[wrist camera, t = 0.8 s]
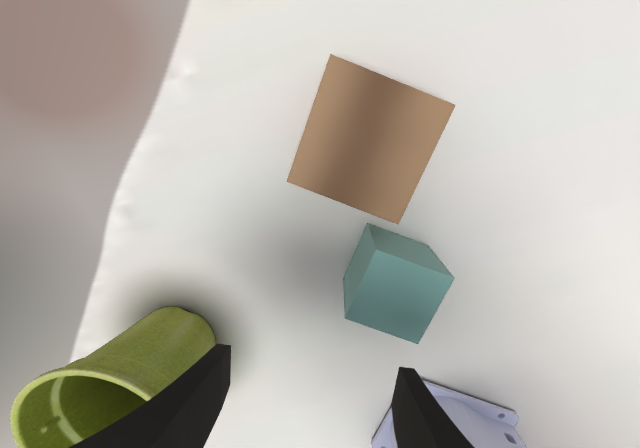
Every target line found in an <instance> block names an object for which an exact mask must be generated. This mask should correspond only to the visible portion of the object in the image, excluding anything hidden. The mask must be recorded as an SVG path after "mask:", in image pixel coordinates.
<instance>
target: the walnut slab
mask: <svg viewBox="0 0 640 448" xmlns="http://www.w3.org/2000/svg"><path fill="white" fill-rule="evenodd" d="M454 107H455V105H454V104H452V103H449V102H447V101H444V100H442V99H439V98H437V97H434V96H432V95H430V94H427V93H425V92H422V91H420V90H417V89H415V88H412V87H410V86H407V85H405V84H403V83H400V82H398V81H395V80H393V79H390V78H388V77H385V76H383V75H381V74H378V73H376V72H373V71H371V70H368V69H366V68H363V67H361V66H359V65H356V64H354V63H351V62H349V61H346V60H344V59H341V58H339V57H336V56H334V55H332V54H330V57H329V60H328V63H327V66H326V69H325V72H324V75H323V78H322V81H321V83H320V86H319V89H318V92H317V95H316V98H315V101H314V104H313V107H312V110H311V112H310V115H309V118H308V121H307V124H306V127H305V130H304V133H303V136H302V139H301V141H300V144H299V147H298V150H297V153H296V156H295V159H294V162H293V165H292V168H291V170H290V173H289V176H288V179H287V182H289V183H292V184H295V185H297V186H300V187H302V188H305V189H307V190H310V191H313V192H315V193H318V194H320V195H323V196H326V197H328V198H331V199H333V200H336V201H339V202H341V203H344V204H346V205H349V206H351V207H354V208H357V209H359V210H362V211H364V212H367V213H370V214H372V215H375V216H377V217H380V218H383V219H385V220H388V221H390V222H393V223H396V224H399V222H400V220H401V218H402V216H403V213H404V211H405V209H406V207H407V205H408V203H409V201H410V199H411V197H412V195H413V193H414V191H415V188H416V186H417V184H418V182H419V180H420V178H421V176H422V174H423V172H424V170H425V168H426V166H427V164H428V161H429V159H430V157H431V155H432V153H433V151H434V149H435V147H436V145H437V143H438V141H439V139H440V136H441V134H442V132H443V130H444V128H445V126H446V124H447V122H448V120H449V118H450V116H451V114H452V112H453V109H454Z"/></svg>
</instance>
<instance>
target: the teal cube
mask: <svg viewBox="0 0 640 448" xmlns="http://www.w3.org/2000/svg"><path fill="white" fill-rule="evenodd" d="M343 280H344V308H345V319H348V320H351V321H354V322H357V323H360V324H362V325H365V326H368V327H371V328H374V329H377V330H379V331H382V332H385V333H388V334H391V335H394V336H396V337H399V338H402V339H405V340H408V341H411V342H413V343H416V344H418V343H419V341H420V339H421V338H422V336H423V334H424V332H425V330H426V329H427V327H428V325H429V323H430V321H431V320H432V318H433V316H434V314H435V312H436V311H437V309H438V307H439V305H440V303H441V302H442V300H443V298H444V296H445V294H446V293H447V291H448V289H449V287H450V286H451V284H452V282H453V280H454V277H453V276H452V274H451V273H450V272H449V271H448V269H447V268H446V267H445V266H444V265H443V263H442V262H441V261H440V260H439V258H438V257H437V256H436V255H435V254H434V252H433V251H432V250H431V249H430V247H429V246H428V245H425V244H423V243H420V242H417V241H414V240H412V239H409V238H406V237H404V236H401V235H398V234H395V233H393V232H390V231H387V230H385V229H382V228H379V227H376V226H374V225H371V224H368V223H367V225H366V227H365V230H364V232H363V234H362V237H361V239H360V241H359V244H358V246H357V248H356V251H355V253H354V255H353V258H352V260H351V262H350V265H349V267H348V269H347V272H346V274H345V276H344V278H343Z"/></svg>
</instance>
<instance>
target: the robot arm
mask: <svg viewBox="0 0 640 448" xmlns="http://www.w3.org/2000/svg"><path fill="white" fill-rule="evenodd" d="M230 367H231V346H230V345H222V344H216V345H215V346H213V347H212V348H211V349H210V350H209V351H208V352H207V353H206V354H205V355H204V356H202V357H201V358H200V359H199V360H198V361H197V362H196V363H195V364H193V365H192V366H191V367H190V368H189V369H188V370H186V371H185V372H184V373H183V374H182V375H181V376H179V377H178V378H177V379H176V380H175V381H173V382H172V383H171V384H169V385H168V386H167V387H166V388H164V389H163V390H162V391H160V392H159V393H158V394H157V395H155V396H154V397H152V398H151V399H150V400H148V401H147V402H145V403H144V404H143V405H141V406H140V407H138V408H137V409H135V410H134V411H132V412H131V413H129V414H128V415H126V416H124V417H123V418H121V419H119V420H118V421H116V422H114V423H113V424H111V425H109V426H107V427H106V428H104V429H102V430H101V431H99V432H97V433H95V434H94V435H92V436H90V437H88V438H86V439H84V440H82V441H80V442H78V443H76V444H74V445H72V446H70V447H68V448H203V447H204V445H205V443H206V441H207V439H208V437H209V435H210V432H211V430H212V428H213V426H214V424H215V422H216V420H217V418H218V416H219V413H220V411H221V409H222V406H223V404H224V401H225V398H226V395H227V392H228V389H229V386H230ZM518 421H519V417H518V415H517V414H516V413H515V412H514V411H511V410H508V409H505V408H502V407H499V406H496V405H493V404H491V403H488V402H485V401H482V400H479V399H476V398H473V397H470V396H467V395H465V394H462V393H459V392H456V391H453V390H450V389H447V388H444V387H442V386H439V385H436V384H433V383H430V382H427V381H424V380H422V379H421V378H420V376H419V375H418V374H417V372H416V371H415V369H412V368H404V367H399V371H398V376H397V380H396V385H395V390H394V394H393V399H392V404H391V408H390V410H389V412H388V414H387V415H386V417H385V419H384V421H383V422H382V424H381V426H380V428H379V429H378V431H377V433H376V435H375V437H374V438H373V440H372V448H527V447H526V446H525V444H524V442H523V441H522V439H521V437H520V436H519V434H518V432H517V431H516V429H515V427H514V426H515V425H516V424H517V422H518Z"/></svg>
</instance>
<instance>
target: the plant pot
mask: <svg viewBox="0 0 640 448" xmlns="http://www.w3.org/2000/svg"><path fill="white" fill-rule="evenodd" d="M215 345H216V341H215V336H214V333H213V331H212V329H211V327H210V326H209V325H208V323H207V322H206V321H205V320H204V319H203V318H202V317H200V316H199V315H197V314H193V313H190V312H187V311H185V310H183V309H181V308H180V307H164V308H160V309H158V310H155V311H153V312H152V313H150V314H149V315H148V316H146V317H145V318H143V319H142V320H140V321H139V322H137V323H136V324H134V325H133V326H132V327H130V328H129V329H127V330H126V331H124V332H123V333H121V334H120V335H118V336H117V337H115V338H114V339H112V340H111V341H109V342H108V343H106V344H105V345H103V346H102V347H101V348H99V349H97V350H96V351H94V352H93V353H91V354H90V355H88V356H87V357H85V358H82V359H79V360H76V361H74V362H72V363H70V364H69V365H67V366H65V367H63V368H59V369H55V370H52V371H49V372H46V373H44V374H42V375H40V376H39V377H37V378H35V379H34V380H33V381H31V382H30V383H29V384H27V385H26V386H25V387H24V388H23V389H22V390H21V391H20V393H19V394H18V395H17V397H16V399H15V401H14V403H13V406H12V409H11V415H10V423H11V430H12V433H13V437H14V440H15V442H16V444H17V446H18V448H68V447H70V446H72V445H74V444H76V443H78V442H80V441H82V440H84V439H86V438H88V437H90V436H92V435H94V434H95V433H97V432H99V431H101V430H102V429H104V428H106V427H107V426H109V425H111V424H113V423H114V422H116V421H118V420H119V419H121V418H123V417H124V416H126V415H128V414H129V413H131V412H132V411H134V410H135V409H137V408H138V407H140V406H141V405H143V404H144V403H145V402H147V401H148V400H150V399H151V398H152V397H154V396H155V395H157V394H158V393H159V392H160V391H162V390H163V389H164V388H166V387H167V386H168V385H169V384H171V383H172V382H173V381H175V380H176V379H177V378H178V377H179V376H181V375H182V374H183V373H184V372H185V371H186V370H188V369H189V368H190V367H191V366H192V365H193V364H195V363H196V362H197V361H198V360H199V359H200V358H201V357H202V356H204V355H205V354H206V353H207V352H208V351H209V350H210V349H211V348H212V347H213V346H215Z"/></svg>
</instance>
